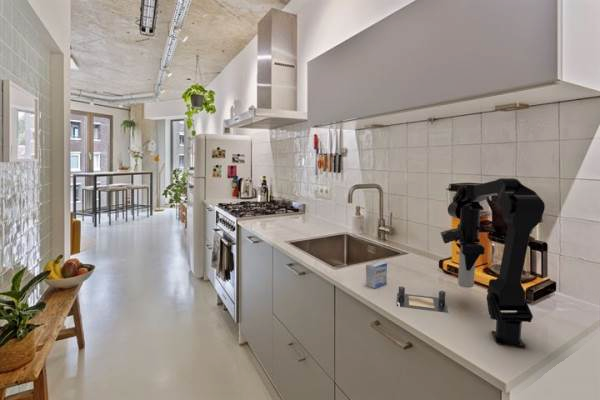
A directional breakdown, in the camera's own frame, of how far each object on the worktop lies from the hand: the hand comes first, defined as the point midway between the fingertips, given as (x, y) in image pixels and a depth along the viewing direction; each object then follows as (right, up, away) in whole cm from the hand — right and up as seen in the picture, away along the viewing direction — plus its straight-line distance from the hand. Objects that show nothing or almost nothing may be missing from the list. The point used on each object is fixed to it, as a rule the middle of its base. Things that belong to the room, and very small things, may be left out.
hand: (466, 268), depth 110 cm
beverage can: (0, -6, +1) cm, 6 cm away
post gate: (-14, -13, +3) cm, 19 cm away
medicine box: (-26, -11, +19) cm, 34 cm away
